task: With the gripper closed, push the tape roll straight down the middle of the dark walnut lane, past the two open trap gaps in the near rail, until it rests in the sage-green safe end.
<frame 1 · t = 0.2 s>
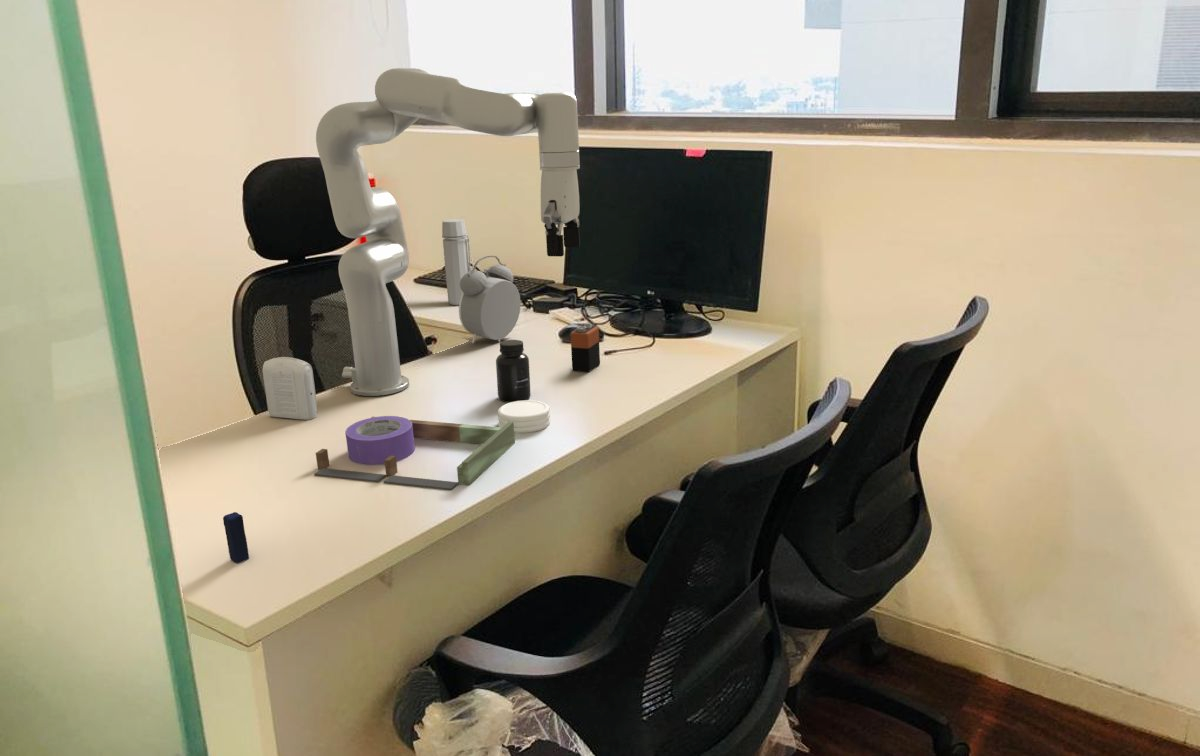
hand: (564, 251, 179), 31 cm above the table, tool pointing down, fingers open, 9 cm apart
eraser: (240, 560, 130), on the table
tape roll: (382, 454, 166), on the table
coaster: (524, 426, 177), on the table
water bottle: (463, 304, 278), on the table
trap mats: (384, 478, 154), on the table
supplement bottle: (514, 398, 192), on the table
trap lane: (416, 455, 164), on the table
photo printer: (294, 417, 186), on the table
battery: (586, 368, 211), on the table
alarm clock: (492, 341, 236), on the table
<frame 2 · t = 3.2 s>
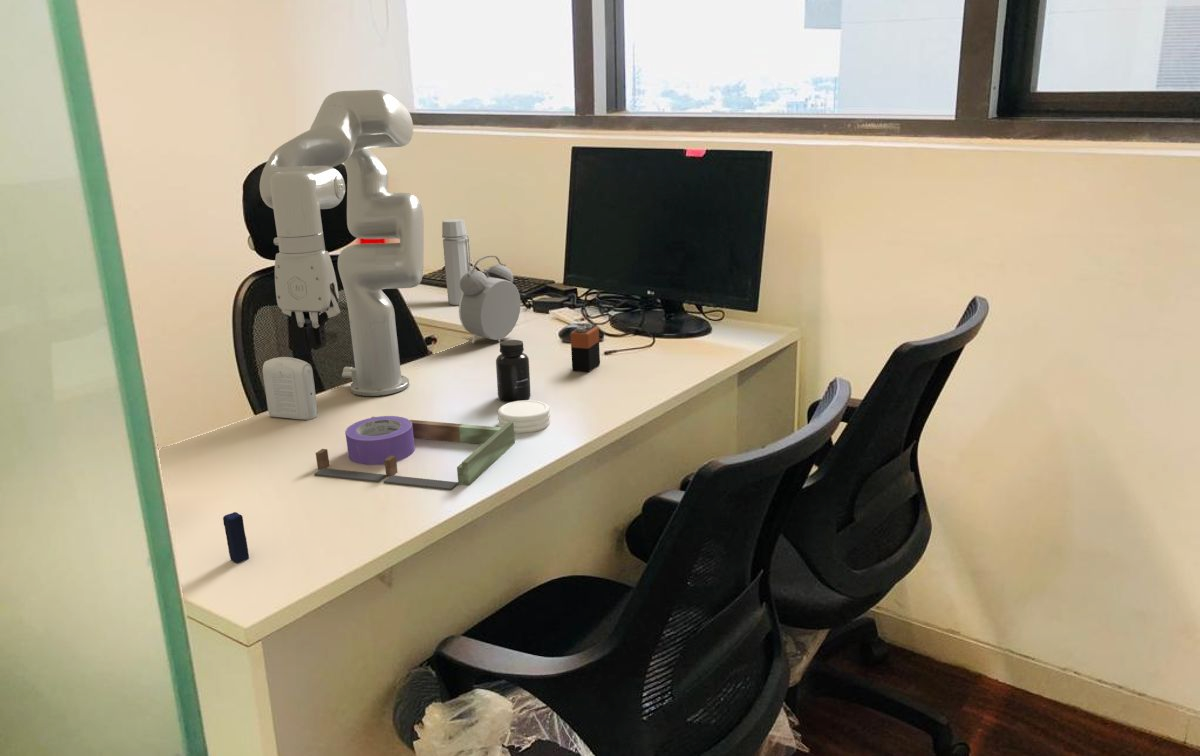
hand: (315, 347, 164), 19 cm above the table, tool pointing down, fingers closed
nothing on the table moved.
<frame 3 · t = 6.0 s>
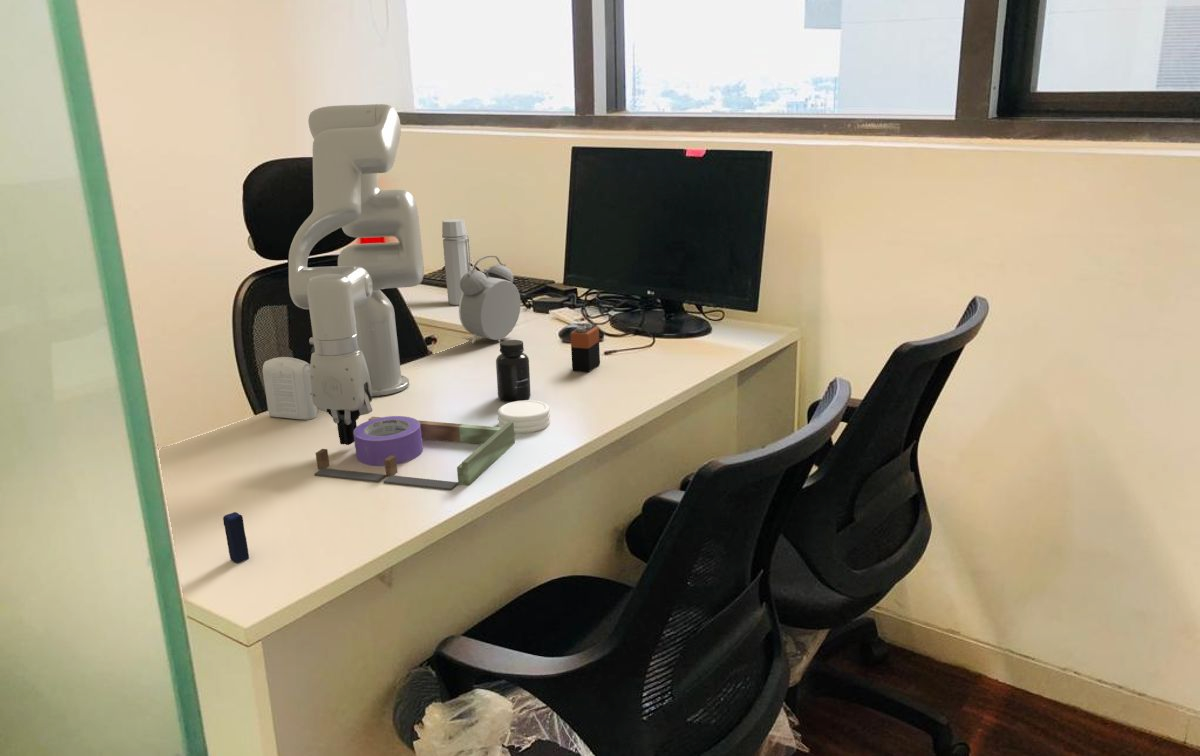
hand: (349, 441, 167), 1 cm above the table, tool pointing down, fingers closed
tape roll: (390, 454, 166), on the table, touching gripper
everything else where it was.
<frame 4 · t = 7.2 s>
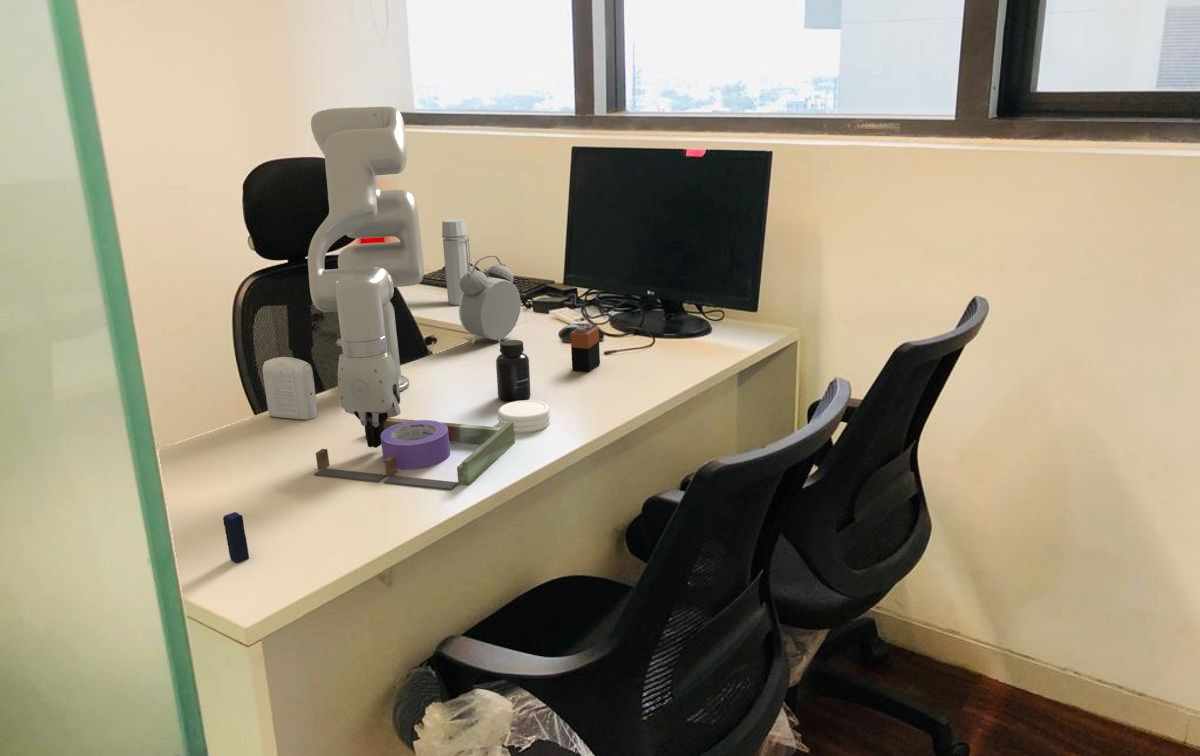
hand: (376, 444, 166), 1 cm above the table, tool pointing down, fingers closed
tape roll: (417, 458, 164), on the table, touching gripper
everything else where it was.
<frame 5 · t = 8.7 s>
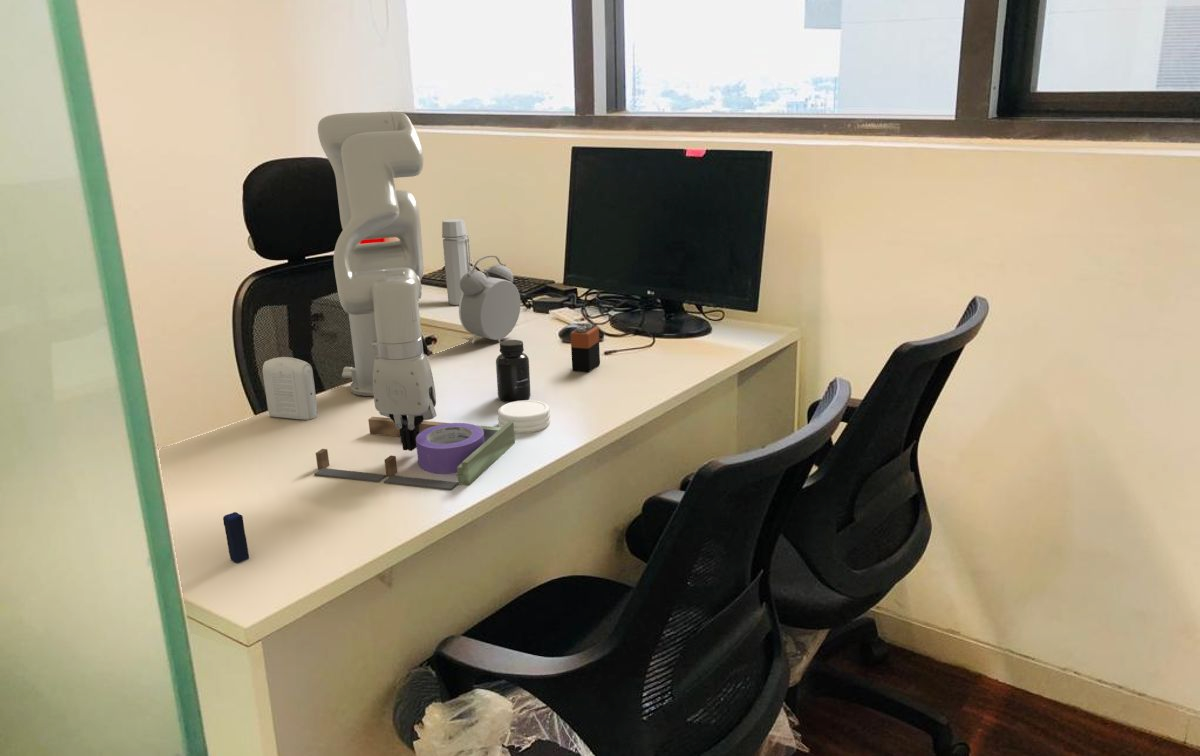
hand: (411, 447, 164), 1 cm above the table, tool pointing down, fingers closed
tape roll: (452, 462, 161), on the table
everything else where it was.
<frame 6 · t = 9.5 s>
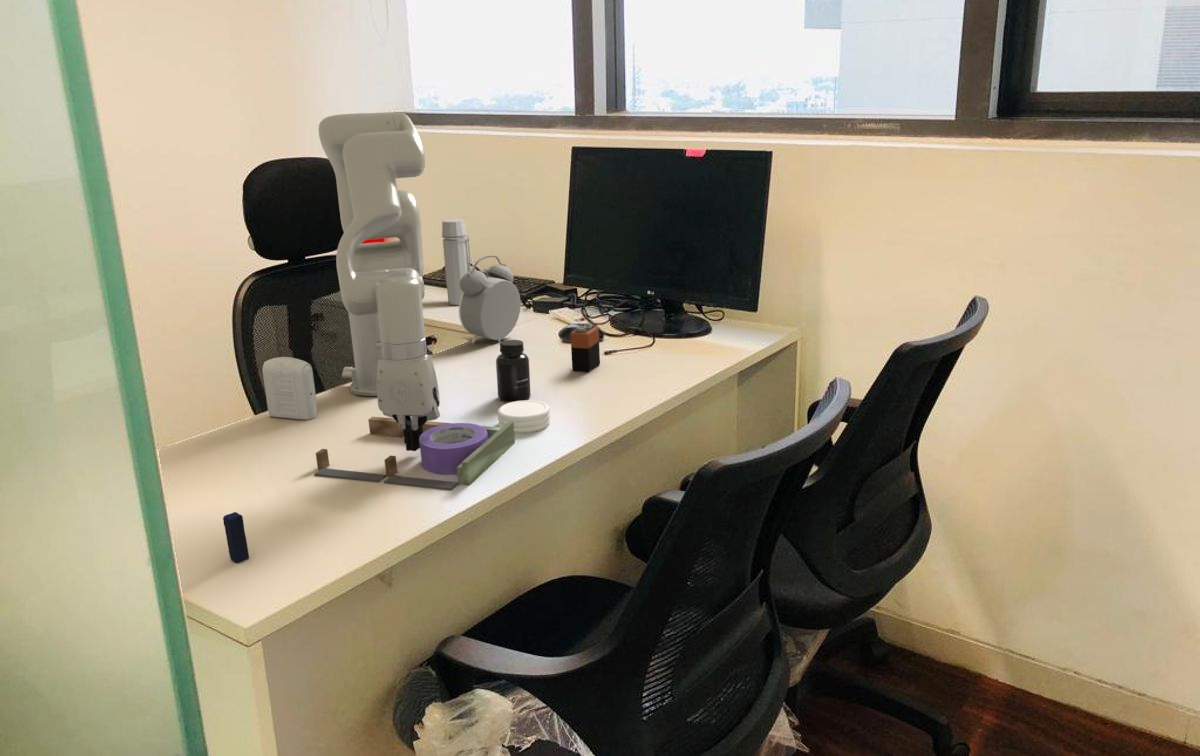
hand: (414, 448, 163), 1 cm above the table, tool pointing down, fingers closed
tape roll: (455, 462, 161), on the table, touching gripper, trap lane
everything else where it was.
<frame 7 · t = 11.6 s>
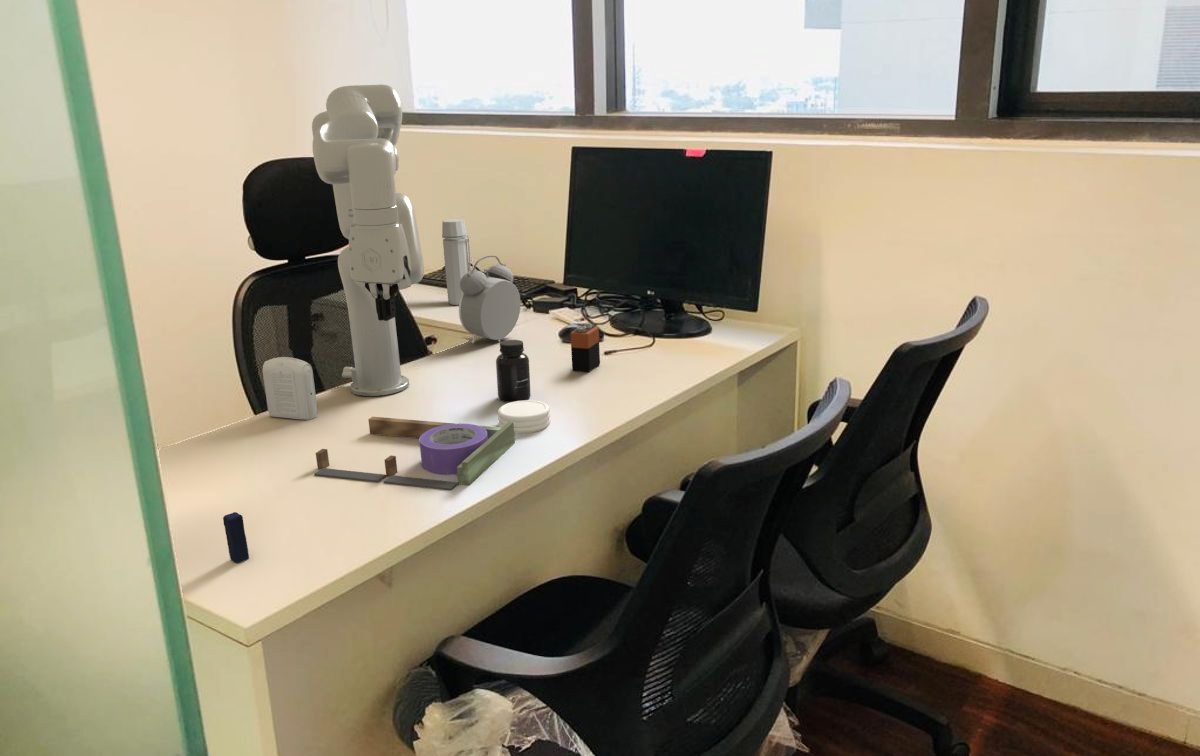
hand: (386, 318, 166), 23 cm above the table, tool pointing down, fingers closed
tape roll: (455, 463, 161), on the table
everything else where it was.
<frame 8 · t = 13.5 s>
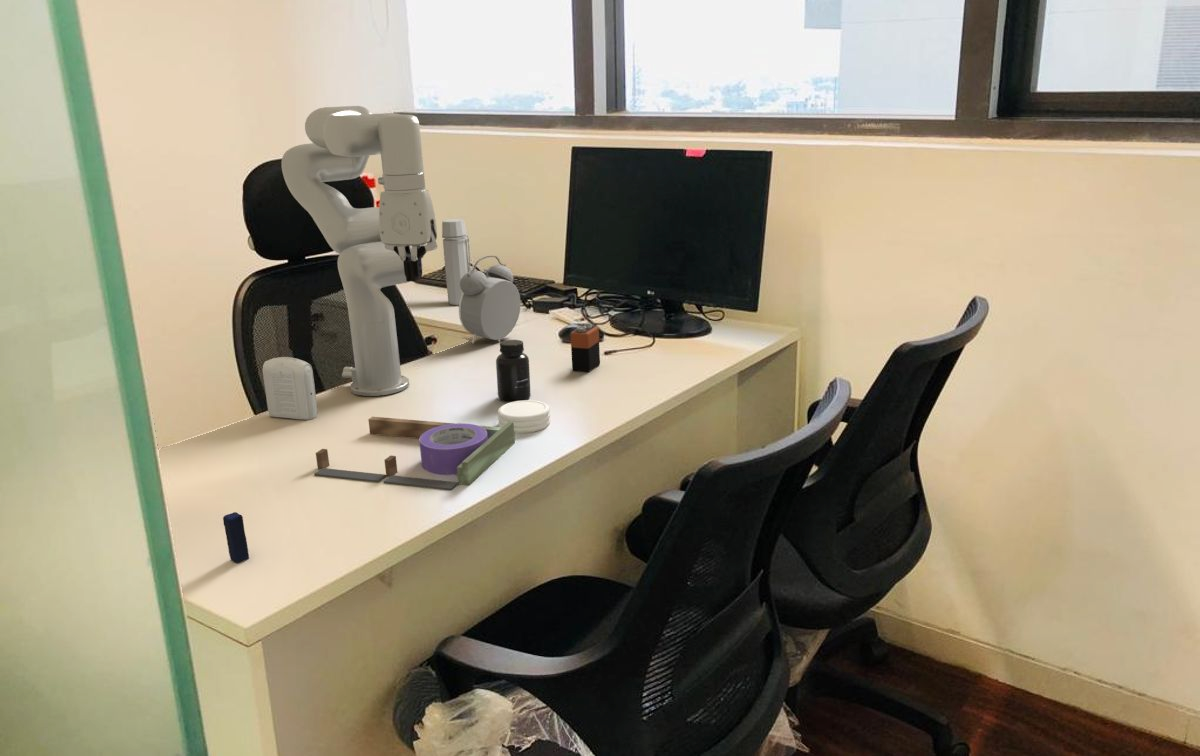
hand: (414, 280, 177), 27 cm above the table, tool pointing down, fingers closed
nothing on the table moved.
at the end: tape roll inside the target area (0.7 cm from its centre), on the table; tape roll moved 15.1 cm from its start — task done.
